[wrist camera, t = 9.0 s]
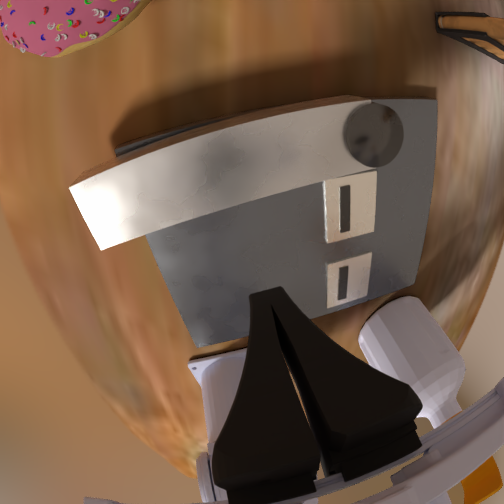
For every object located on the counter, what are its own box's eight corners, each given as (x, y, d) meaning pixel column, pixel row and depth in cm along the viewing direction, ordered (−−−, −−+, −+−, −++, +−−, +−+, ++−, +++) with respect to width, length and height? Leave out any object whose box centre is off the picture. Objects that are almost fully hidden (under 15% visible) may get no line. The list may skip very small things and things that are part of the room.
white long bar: (110, 227, 17) (99, 254, 14) (84, 170, 15) (66, 190, 12) (377, 149, 17) (404, 164, 15) (372, 91, 15) (401, 98, 13)
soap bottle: (405, 281, 28) (529, 475, 8) (427, 311, 33) (521, 462, 13) (343, 335, 31) (434, 533, 11) (376, 354, 35) (451, 508, 15)
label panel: (408, 276, 28) (415, 285, 26) (196, 337, 26) (197, 350, 25) (427, 97, 17) (439, 100, 16) (119, 144, 16) (113, 151, 14)
